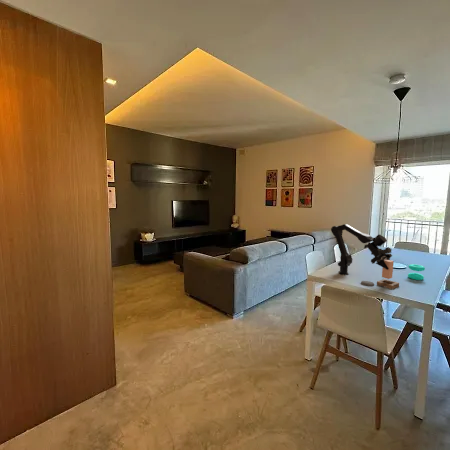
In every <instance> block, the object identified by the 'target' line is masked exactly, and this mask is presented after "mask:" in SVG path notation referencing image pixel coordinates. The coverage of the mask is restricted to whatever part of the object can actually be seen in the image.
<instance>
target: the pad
mask: <svg viewBox="0 0 450 450" xmlns="http://www.w3.org/2000/svg"><path fill="white" fill-rule="evenodd" d="M360 284H361V285H363V286H367V287H373V286H375V283H374V282H373V281H370V280H361V281H360Z"/></svg>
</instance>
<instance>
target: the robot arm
mask: <svg viewBox="0 0 450 450" xmlns="http://www.w3.org/2000/svg"><path fill="white" fill-rule="evenodd" d="M343 231H346V232H348V233H349V234H351V235H353V236H355V238H357V239H358V241H359V242H360V243H362V244H364V247H363V249H368V250H369V252H370V254H371V255H373V257H372V259H370V263H371V264H373V265H374V264H376V265H378V266H379V267H382V269H383V268H385V269H387V270H388V269H389V268H388V267H387V265H386V264H385V262H384V260H391V258H392V257H393V255H392V248H391V247H389V246H387V247H385V248H384V249H382V248H379V247H381V246H383V245H384V244H385V243H386V242H388V240H387V238H386V237H385V236H383V235H381V234H379V233H378V234H377V235H376V236H375V237H372V236H371V235H370V234H368V233H365V232H361V231H360V230H358V229H356V228H354V227H352V226H351V225H349V223H343V224H342V225H333V226H332V227H331V228H330V232H331V234H332V235H333V236H334V237H335V240H336V243H337V246H338V249H339V252H340V261H339V262H338V263H337V266H338V267H339V271H338V273H339V275H348V276H349V275H350V274H349V273H348V270H349V267H350V266H351V264H353V258H352V257H353V256H352V254H349V253H348V251H347V250H348V249H347V247H346V243H345V241H344V237H343Z"/></svg>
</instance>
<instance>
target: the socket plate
mask: <svg viewBox="0 0 450 450" xmlns="http://www.w3.org/2000/svg"><path fill="white" fill-rule="evenodd" d="M376 285H377V286H379V287H382V286H383V288H385V289H390V290H394V289H396V288H399V287H400V282H398V281H394V280H390V279H387V278H383V279H380V280H377V281H376Z"/></svg>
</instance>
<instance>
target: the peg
mask: <svg viewBox="0 0 450 450" xmlns="http://www.w3.org/2000/svg"><path fill="white" fill-rule="evenodd" d="M384 262H385V264H386V265H387V267H388V268H389V269H388V270H387V269H385V268H383V267H382V270H381V271H382V272H381V278H383V279H386V280H390V279H392V278H393V272H394V260H392V259H390V260H384Z"/></svg>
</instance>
